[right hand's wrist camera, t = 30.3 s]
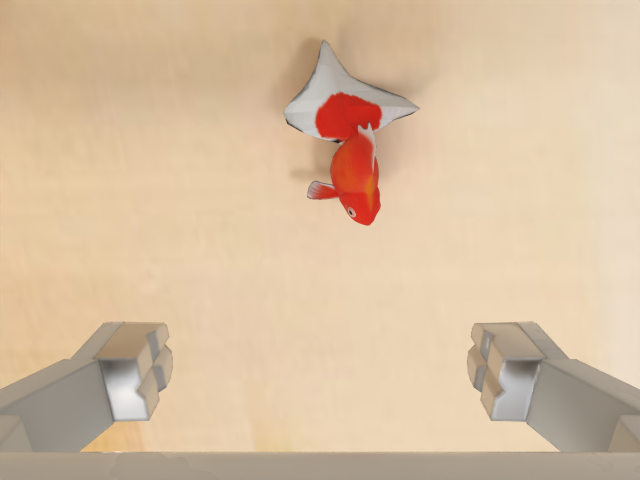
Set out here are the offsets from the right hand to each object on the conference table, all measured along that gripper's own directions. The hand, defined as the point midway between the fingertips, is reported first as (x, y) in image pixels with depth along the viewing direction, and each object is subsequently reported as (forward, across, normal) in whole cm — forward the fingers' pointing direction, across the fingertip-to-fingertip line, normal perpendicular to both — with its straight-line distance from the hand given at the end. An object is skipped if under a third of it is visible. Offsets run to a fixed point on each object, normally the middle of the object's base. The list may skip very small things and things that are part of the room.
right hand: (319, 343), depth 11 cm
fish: (+31, -2, -2) cm, 31 cm away
